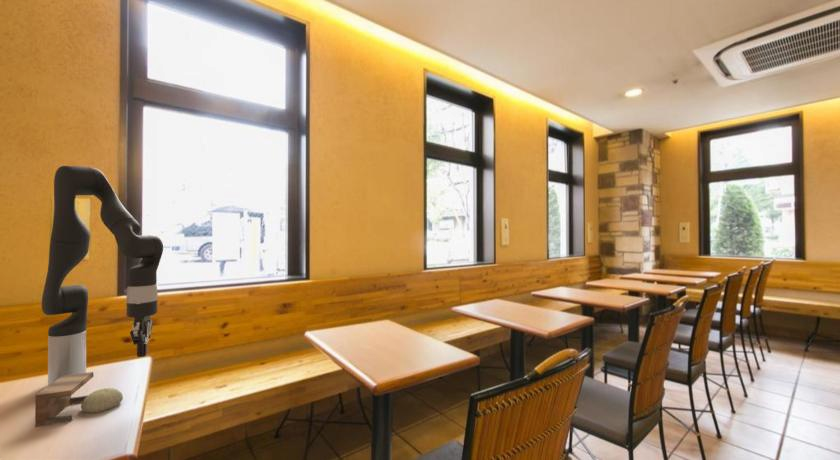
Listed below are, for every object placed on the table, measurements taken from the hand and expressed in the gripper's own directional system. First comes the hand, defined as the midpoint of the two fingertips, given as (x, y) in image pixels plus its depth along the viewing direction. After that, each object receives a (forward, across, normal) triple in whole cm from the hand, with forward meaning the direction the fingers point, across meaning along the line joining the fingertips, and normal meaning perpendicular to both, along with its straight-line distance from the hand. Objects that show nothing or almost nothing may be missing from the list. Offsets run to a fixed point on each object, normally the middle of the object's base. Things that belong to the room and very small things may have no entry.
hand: (142, 355), depth 108 cm
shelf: (+14, 0, -17) cm, 22 cm away
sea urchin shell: (+14, 0, -10) cm, 17 cm away
